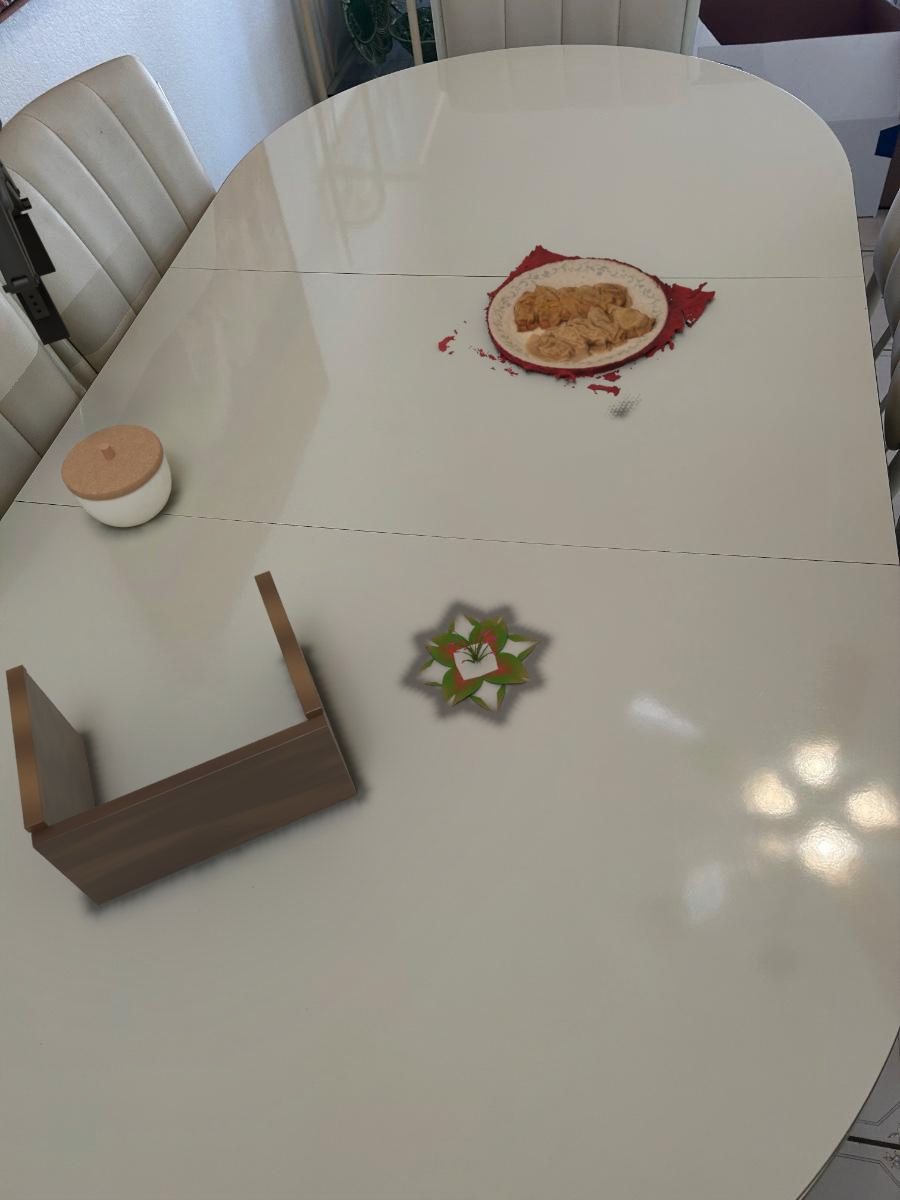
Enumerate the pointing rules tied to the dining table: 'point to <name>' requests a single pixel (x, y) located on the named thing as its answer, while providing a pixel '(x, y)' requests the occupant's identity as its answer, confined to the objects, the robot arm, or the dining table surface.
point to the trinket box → (119, 475)
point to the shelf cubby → (170, 787)
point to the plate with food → (584, 316)
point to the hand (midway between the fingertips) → (50, 305)
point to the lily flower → (482, 632)
